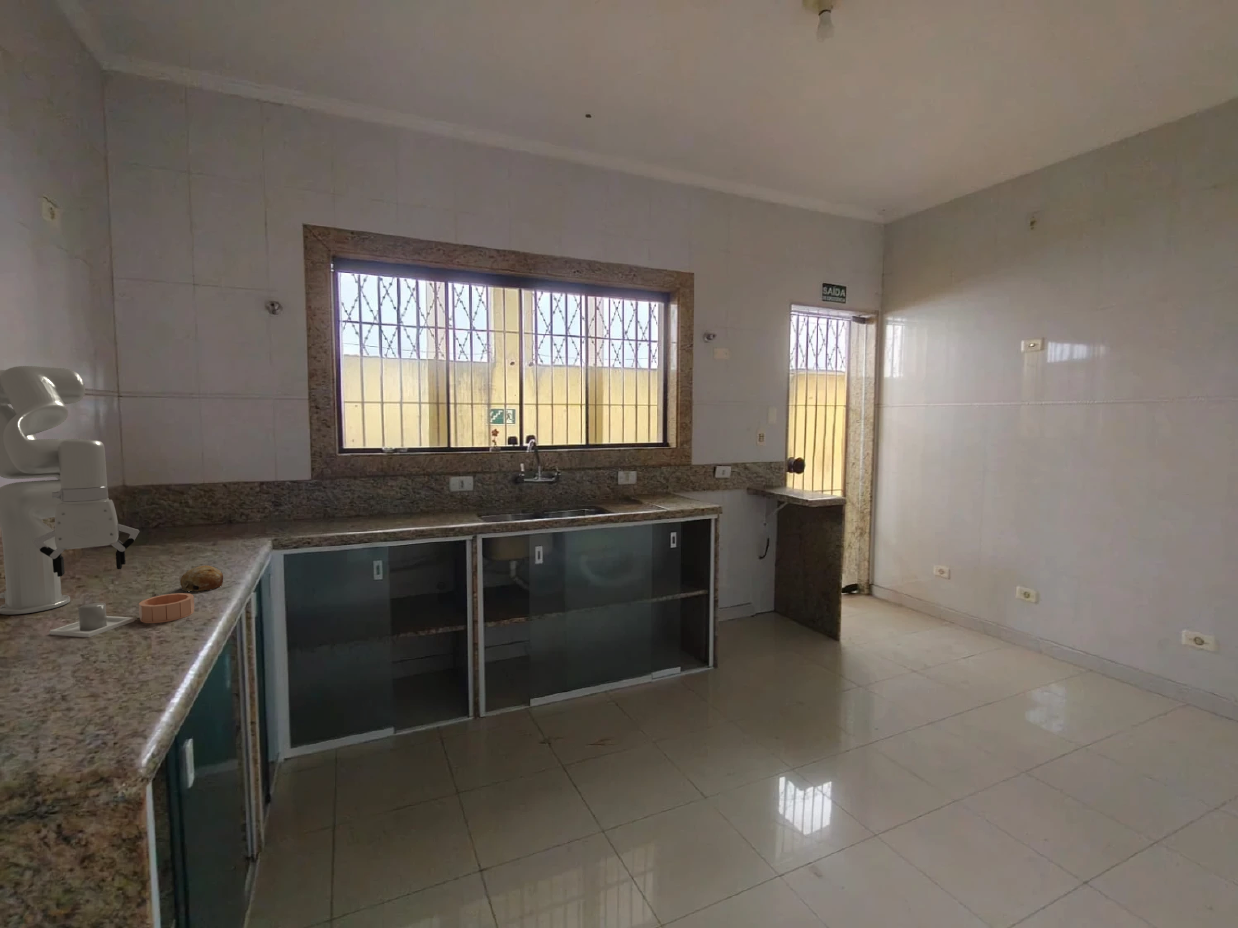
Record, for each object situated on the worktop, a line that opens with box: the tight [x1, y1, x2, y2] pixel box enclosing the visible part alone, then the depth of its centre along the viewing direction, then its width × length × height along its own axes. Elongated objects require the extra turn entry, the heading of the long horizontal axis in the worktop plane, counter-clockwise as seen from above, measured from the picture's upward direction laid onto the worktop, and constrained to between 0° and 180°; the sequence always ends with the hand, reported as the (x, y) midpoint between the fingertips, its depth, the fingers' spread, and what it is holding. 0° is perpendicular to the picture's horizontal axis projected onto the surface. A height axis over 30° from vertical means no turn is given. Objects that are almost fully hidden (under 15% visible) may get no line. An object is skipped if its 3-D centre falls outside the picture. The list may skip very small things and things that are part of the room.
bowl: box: [138, 592, 195, 624], centre depth 136 cm, size 10×10×4 cm
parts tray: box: [49, 615, 136, 638], centre depth 128 cm, size 10×10×1 cm
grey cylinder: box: [77, 602, 107, 631], centre depth 127 cm, size 4×4×5 cm
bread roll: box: [179, 564, 224, 592], centre depth 160 cm, size 10×10×8 cm
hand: (91, 571), depth 126 cm, fingers open, 9 cm apart
